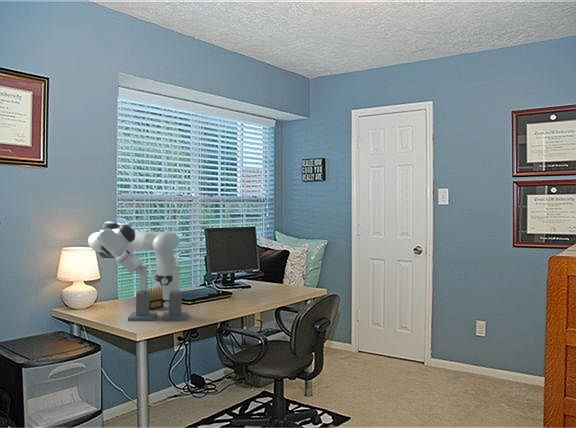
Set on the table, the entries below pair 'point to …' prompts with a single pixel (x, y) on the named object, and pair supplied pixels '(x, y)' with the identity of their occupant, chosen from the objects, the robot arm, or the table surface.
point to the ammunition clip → (156, 298)
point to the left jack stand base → (142, 308)
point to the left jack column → (143, 280)
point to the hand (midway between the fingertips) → (144, 274)
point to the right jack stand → (175, 300)
